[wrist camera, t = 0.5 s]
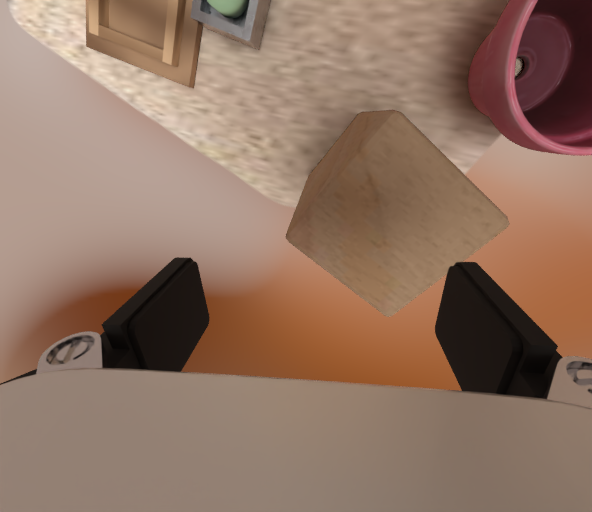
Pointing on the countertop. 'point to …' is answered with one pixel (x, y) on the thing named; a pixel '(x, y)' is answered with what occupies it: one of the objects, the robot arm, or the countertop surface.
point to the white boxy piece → (234, 21)
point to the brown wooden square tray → (147, 35)
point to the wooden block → (390, 212)
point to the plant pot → (538, 75)
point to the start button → (229, 7)
